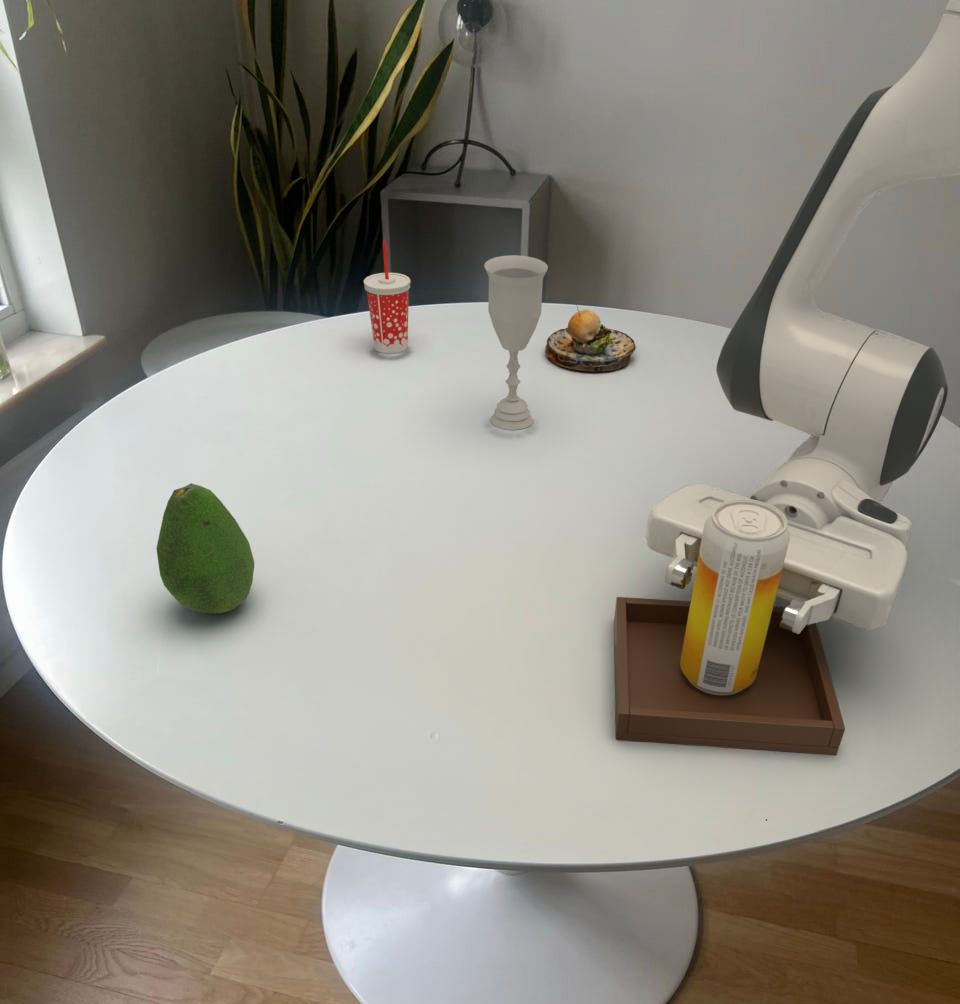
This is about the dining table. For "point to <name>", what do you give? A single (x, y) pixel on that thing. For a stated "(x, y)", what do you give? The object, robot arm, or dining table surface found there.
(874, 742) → the dining table surface
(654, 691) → the serving tray
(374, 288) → the beverage cup
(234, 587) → the avocado
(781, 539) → the beer can
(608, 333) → the burger
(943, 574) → the dining table surface
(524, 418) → the chalice
